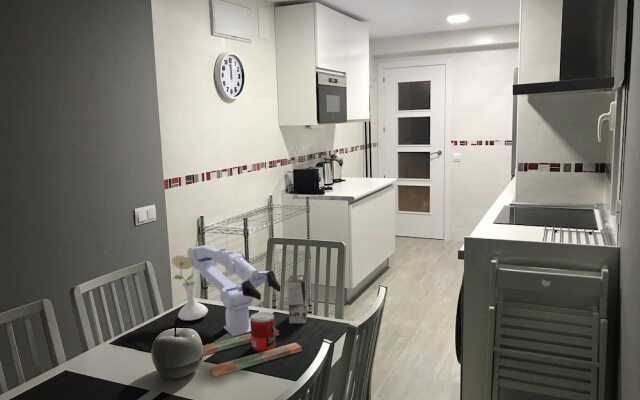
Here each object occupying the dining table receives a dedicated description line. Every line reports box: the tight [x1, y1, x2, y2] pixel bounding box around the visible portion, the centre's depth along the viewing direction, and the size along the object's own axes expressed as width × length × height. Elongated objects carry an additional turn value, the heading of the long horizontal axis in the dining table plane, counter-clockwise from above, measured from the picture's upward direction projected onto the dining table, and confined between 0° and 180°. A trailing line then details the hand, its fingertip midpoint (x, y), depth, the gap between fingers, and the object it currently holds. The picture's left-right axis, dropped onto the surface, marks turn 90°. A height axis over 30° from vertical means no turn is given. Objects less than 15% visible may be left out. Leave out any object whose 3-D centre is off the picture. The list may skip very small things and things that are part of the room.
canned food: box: [249, 311, 276, 353], centre depth 174 cm, size 8×8×11 cm
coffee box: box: [287, 274, 308, 324], centre depth 198 cm, size 9×6×16 cm
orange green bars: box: [202, 327, 303, 377], centre depth 172 cm, size 20×30×2 cm, turn 122°
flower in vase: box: [171, 254, 209, 321], centre depth 201 cm, size 13×11×25 cm
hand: (269, 292), depth 171 cm, fingers open, 7 cm apart
